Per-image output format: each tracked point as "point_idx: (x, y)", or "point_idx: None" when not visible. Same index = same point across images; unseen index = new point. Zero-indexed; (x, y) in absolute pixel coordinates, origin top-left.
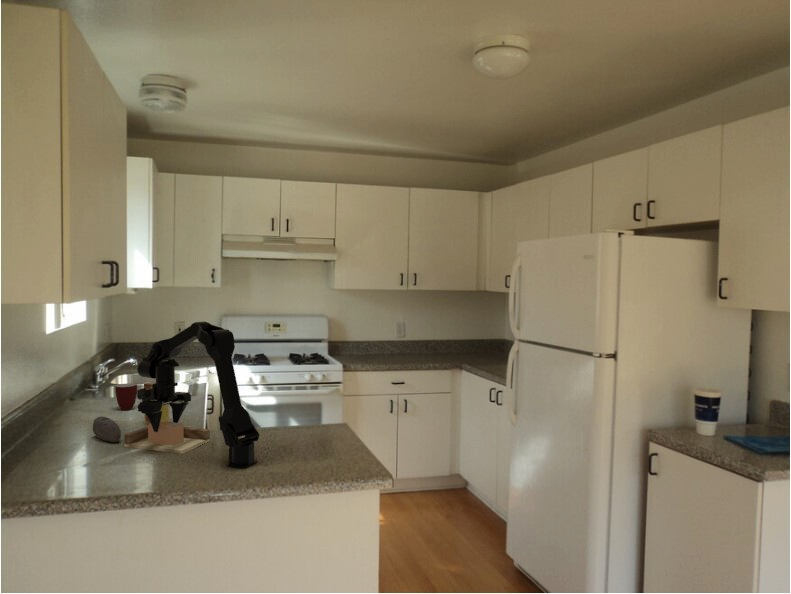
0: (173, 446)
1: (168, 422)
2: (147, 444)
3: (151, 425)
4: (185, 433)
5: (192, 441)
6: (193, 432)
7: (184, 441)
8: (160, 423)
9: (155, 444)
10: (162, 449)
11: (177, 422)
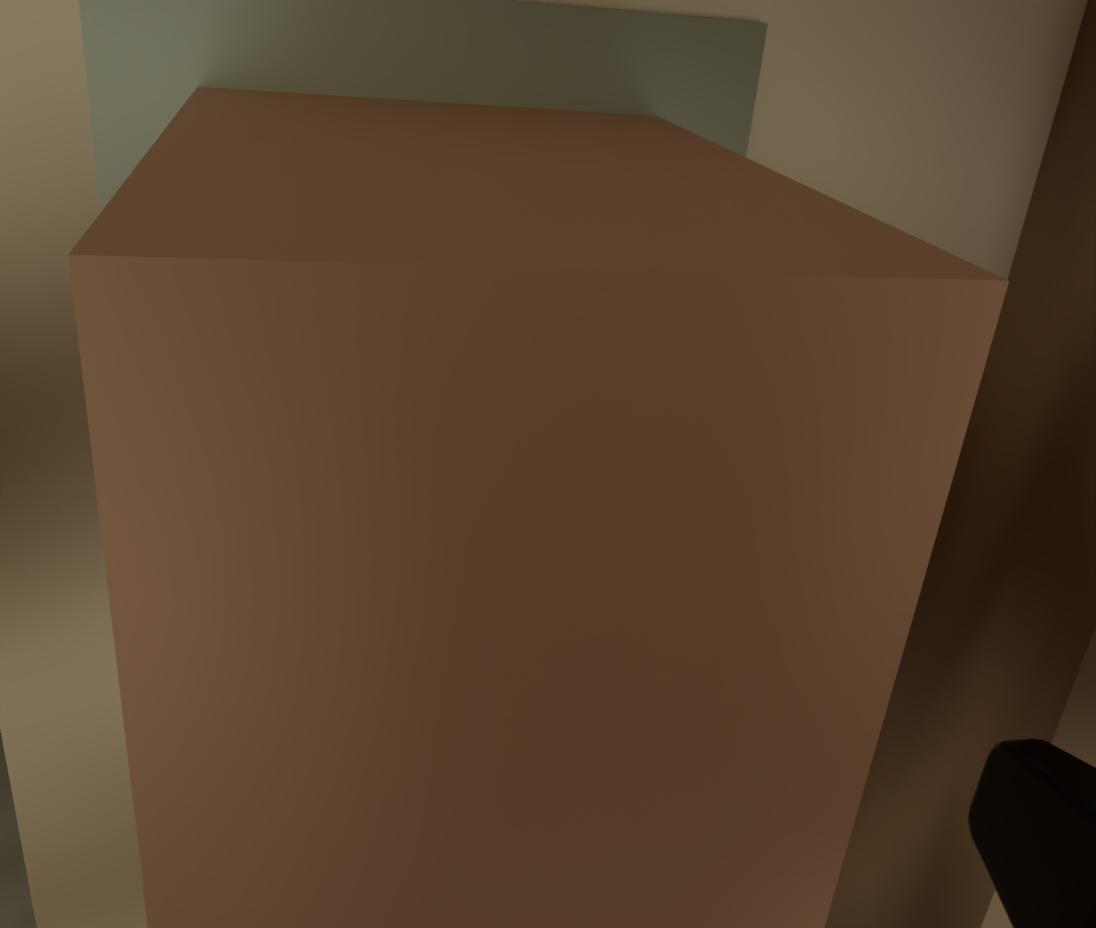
0: None
1: (793, 901)
2: (92, 135)
3: (114, 500)
4: (960, 713)
5: None
6: (925, 919)
7: None
8: (537, 757)
9: None
10: (11, 716)
11: (1037, 917)
